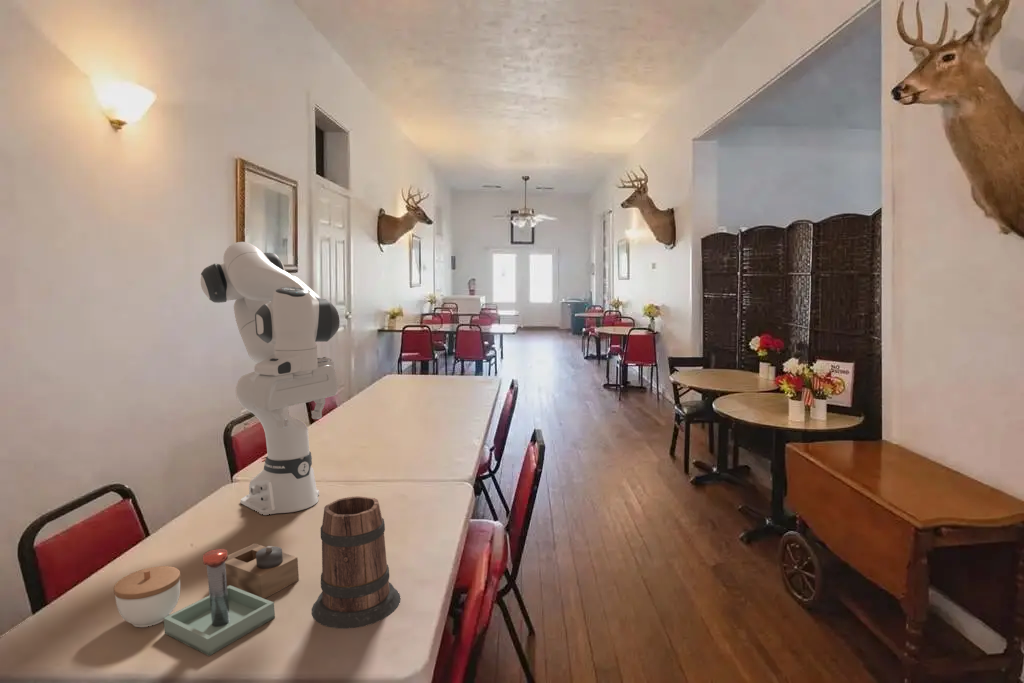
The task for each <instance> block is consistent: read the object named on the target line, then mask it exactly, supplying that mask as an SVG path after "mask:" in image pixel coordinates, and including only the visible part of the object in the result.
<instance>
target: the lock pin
mask: <svg viewBox="0 0 1024 683" xmlns="http://www.w3.org/2000/svg"><path fill="white" fill-rule="evenodd" d="M228 555H229V554H228V550H227V549H225V548H217V549H212V550H208V551H207V552H205V553H204V554H203V555H202V563H203V565H205V566H206V572H207V585H208V594H209V595H208V596H209V597H210V608H211V619H212V626H214V627H221V626H224V625H226V624H228V623H229V622H230V614H229V602H228V591H227V579H226V567H225V561H226V560H227V559H228Z"/></svg>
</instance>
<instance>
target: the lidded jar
mask: <svg viewBox="0 0 1024 683" xmlns="http://www.w3.org/2000/svg"><path fill="white" fill-rule="evenodd" d="M113 593H114V598H115V604H116V608H117V611H118V613H119V615H120V616H121V618H122V620H124V621H126V623H128V624H132V626H133V627H135V628H148V626H149V627H152V625H153V626H155V625H158V624H160V623H162V622H164V617H166V616H169V615H171V614H172V612H173V610H174V609H175V608H176V606H177V605H178V601H179V600H180V599H179V598H180V595H181V571H180V570H179V569H178V568H177V567H176V566H175V567H174V566H170V565H169V566H167V565H160V566H151V567H147V568H144V569H140V570H136V571H134V572H132V573H129V574H127V575H125V576H124V577H122V578H121V579H119V580H118V581H117V582H116V583H115V584H114V587H113Z"/></svg>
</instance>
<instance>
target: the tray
mask: <svg viewBox="0 0 1024 683" xmlns="http://www.w3.org/2000/svg"><path fill="white" fill-rule="evenodd" d="M227 591H228V602H229V614H230V622H229V623H228V624H226V625H224V626H221V627H214V626H212V619H211V608H210V597H209V595H207V596H206V597H203V598H201V599H199V600H198V601H195V602H194V603H191V604H189V605H187V606H185V607H183V608H180V609H179V610H177V611H175V612H173V613H170V614H169V616H166V617H164V621H163V627H164V634H165V635H167V636H169V637H171V638H173V639H175V640H176V641H179V642H180V643H183V644H185V645H186V646H187V647H188V646H189V647H190V648H192V649H194V650H197V651H198V652H200V653H202V654H204V655H207V656H208V657H210V656H212V655H213V654H214V653H217V652H219V651H220V650H222V649H224V648H226V647H227V646H229V645H230V644H232V643H234V642H235V641H237V640H239V639H240V638H243V637H244V636H247V634H249V633H251V632H253V631H254V630H257V629H258V628H259V627H261V626H263V625H265V624H267V623H268V622H270V621H271V620H273V619H275V618H276V613H275V612H276V611H275V602H274V601H271V600H269V599H266V598H265V599H264V598H261V597H259V596H256V595H254V594H251V593H249V592H246V591H244V590H241V589H238V588H236V587H233V586H231V585H230V586H227Z"/></svg>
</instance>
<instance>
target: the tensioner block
mask: <svg viewBox="0 0 1024 683" xmlns="http://www.w3.org/2000/svg"><path fill="white" fill-rule="evenodd" d="M227 555H228V559H227V560H226V561H225V567H226V579H227V586H230V585H231V586H233V587H236V588H238V589H241V590H244V591H246V592H249V593H251V594H254V595H256V596H259V597H261V598H264V599H266V598H268V597H270V596H272V595H274V594H276V593H278V592H280V591H281V590H283V589H285V588H287V587H288V586H290V585H293V584H294V583H296V582H298V581H299V580H300V578H299V563H298V562H299V559H298V556H294V555H292V554H288V553H285V552H283V548H281V547H280V546H274V545H267V546H264V545H261V544H258V543H252V544H250V545H248V546H246V547H243V548H241V549H238V550H237V551H235V552H232V553H230V554H227Z"/></svg>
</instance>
